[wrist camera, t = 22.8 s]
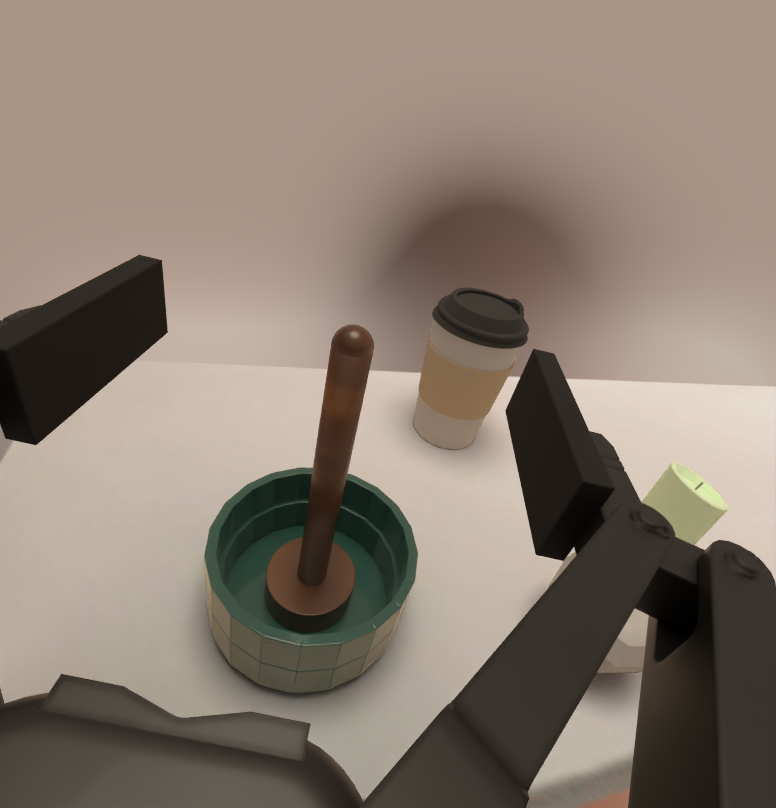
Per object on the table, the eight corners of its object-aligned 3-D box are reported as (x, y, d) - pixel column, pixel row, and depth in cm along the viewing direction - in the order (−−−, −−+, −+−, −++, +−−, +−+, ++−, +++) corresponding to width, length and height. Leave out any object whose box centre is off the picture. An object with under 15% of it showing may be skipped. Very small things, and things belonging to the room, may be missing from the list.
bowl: (191, 709, 24) (185, 654, 20) (222, 523, 33) (221, 464, 30) (412, 688, 27) (439, 637, 23) (381, 523, 36) (397, 470, 33)
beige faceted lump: (585, 725, 27) (641, 675, 23) (503, 608, 32) (539, 551, 29) (662, 672, 31) (722, 622, 27) (578, 575, 36) (618, 522, 32)
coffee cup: (411, 454, 44) (455, 314, 35) (396, 400, 51) (429, 273, 43) (495, 458, 46) (555, 327, 38) (469, 406, 53) (514, 286, 45)
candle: (658, 522, 43) (710, 460, 39) (691, 568, 39) (752, 504, 35) (612, 518, 42) (660, 454, 38) (641, 565, 38) (698, 500, 34)
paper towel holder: (262, 635, 27) (286, 355, 16) (266, 554, 31) (287, 291, 20) (355, 630, 28) (436, 368, 17) (346, 553, 32) (407, 306, 21)
